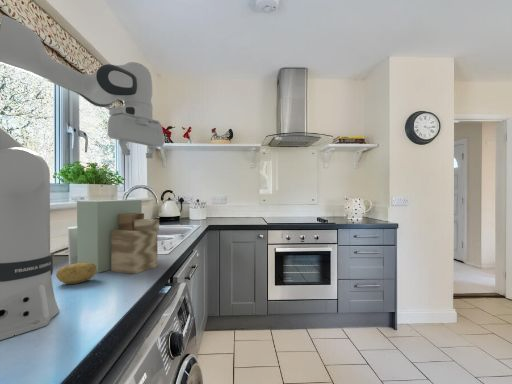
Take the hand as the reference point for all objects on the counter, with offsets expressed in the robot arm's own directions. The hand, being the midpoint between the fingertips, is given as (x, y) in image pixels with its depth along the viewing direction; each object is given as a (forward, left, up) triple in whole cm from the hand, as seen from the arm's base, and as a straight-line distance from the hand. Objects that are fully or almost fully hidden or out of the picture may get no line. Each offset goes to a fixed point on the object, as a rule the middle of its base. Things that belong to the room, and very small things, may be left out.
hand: (138, 156), depth 94 cm
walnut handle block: (+10, +11, -26) cm, 30 cm away
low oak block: (+10, +13, -41) cm, 44 cm away
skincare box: (+5, +39, -41) cm, 57 cm away
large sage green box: (+10, +27, -41) cm, 50 cm away
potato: (-10, +17, -41) cm, 46 cm away
